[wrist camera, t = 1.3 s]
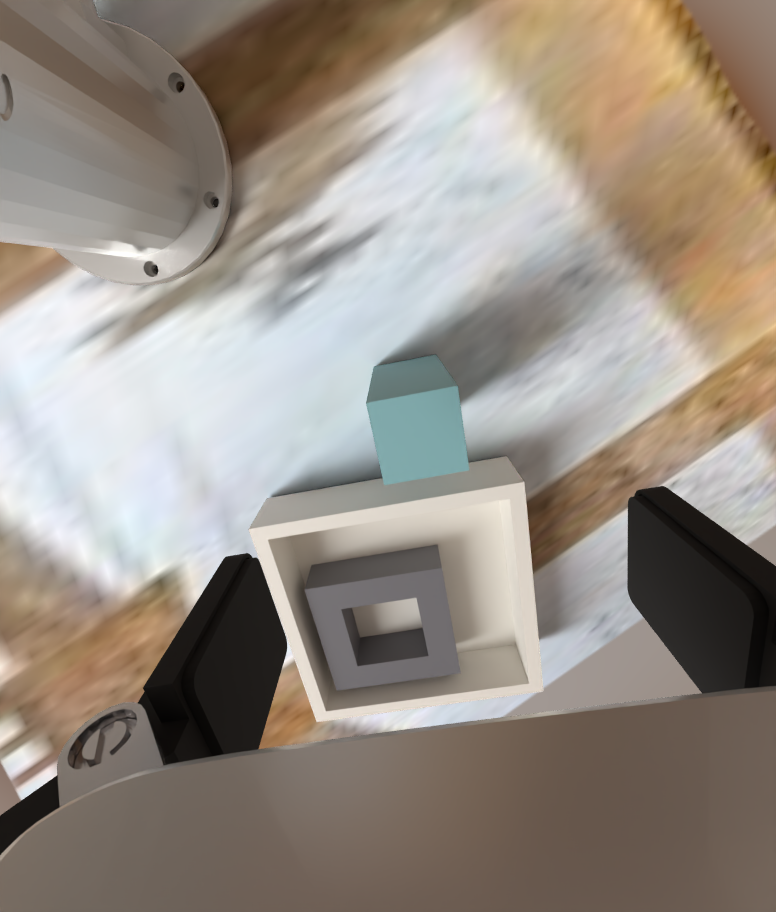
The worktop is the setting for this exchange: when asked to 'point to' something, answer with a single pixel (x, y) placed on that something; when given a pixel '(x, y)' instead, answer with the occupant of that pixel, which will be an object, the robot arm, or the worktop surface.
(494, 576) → the walled box
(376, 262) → the worktop surface
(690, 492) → the worktop surface
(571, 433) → the worktop surface
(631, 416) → the worktop surface
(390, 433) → the peg
